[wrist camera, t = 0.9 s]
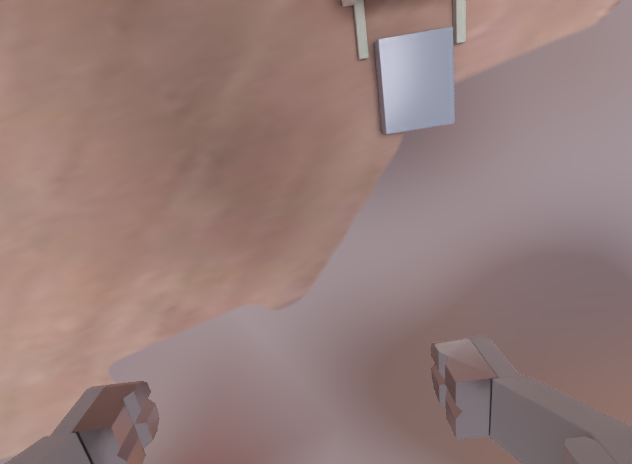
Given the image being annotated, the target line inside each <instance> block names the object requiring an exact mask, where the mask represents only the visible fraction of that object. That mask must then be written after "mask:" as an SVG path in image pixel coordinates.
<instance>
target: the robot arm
mask: <svg viewBox="0 0 632 464" xmlns="http://www.w3.org/2000/svg"><path fill="white" fill-rule="evenodd" d="M431 357H432V359H433V361H434V365H433V366H432V368H431V374H432V382H433V387H434V390H435V393H436V396H437V399H438V401H439V403H440V404H441V405H442V406H444V407H445V408H446V419H447V421H448V423H449V425H450V427H451V429H452V432H453V434H454V436H455V438H456V440H457V439H466V438H477V437H487V436H490V438H491V439H492V440H493V441H494V442H496V443H497V444H498V445H499V446H500V447H502V448H503V449H504V450H505V451H507V452H508V453H509V454H510V455H511V456H513V457H514V458H515V459H516V460H518V461H519V462H520V463H521V464H632V426H630V425H628V424H626V423H624V422H621V421H620V420H618V419H616V418H614V417H612V416H609V415H607V414H605V413H603V412H601V411H599V410H597V409H595V408H593V407H591V406H589V405H587V404H585V403H583V402H581V401H579V400H576V399H575V398H572V397H570V396H568V395H566V394H564V393H562V392H560V391H558V390H556V389H554V388H552V387H550V386H548V385H546V384H544V383H541V382H539V381H538V380H535V379H533V378H531V377H529V376H527V375H519V374H518V373H517V371H516V370H515V369H514V367H513V366H512V365H511V364H510V363H509V361H508V360H507V359H506V358H505V357H504V355H503V354H502V353H501V352H500V351H499V349H498V348H497V347H496V345H495V344H494V343H493V342H492V340H491V339H490V338H489V337H488V336H486V335H481V336H475V337H468V338H465V339H458V340H451V341H443V342H436V343H432V344H431ZM150 393H151V390H150V388H149V386H148V383H147V382H144V381H138V382H128V383H120V384H110V385H103V386H94V387H91V388H89V389H87V390H86V391H85V392H84V394H83V395H82V396H81V397H80V399H79V400H78V401H77V402H76V404H75V405H74V406H73V407H72V409H71V410H70V411H69V413H68V414H67V415H66V416H65V418H64V419H63V420H62V421H61V423H60V424H59V425H58V426H57V428H56V429H55V430H54V432H53V433H52V434H51V435H50V436H46V437H43V438H42V439H40V440H39V441H37V442H36V443H34V444H33V445H31V446H30V447H29V448H27V449H26V450H24V451H23V452H21V453H20V454H18V455H17V456H15V457H14V458H12V459H11V460H10V461H8V462H7V463H5V464H142V463H143V461H144V459H145V456H146V454H145V451H144V448H145V447H146V446H147V445H149V444H150V443H151V442H152V441H153V439H154V437H155V435H156V432H157V428H158V423H159V415H158V409H157V406H156V404H155V403H154V402H152V401H151V400H149V399H148V397H149V395H150Z"/></svg>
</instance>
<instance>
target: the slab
mask: <svg viewBox="0 0 632 464" xmlns="http://www.w3.org/2000/svg"><path fill="white" fill-rule="evenodd" d="M374 47H375V59H376V70H377V81H378V93H379V104H380V115H381V127H382V133H384V134H392V133H398V132H404V131H410V130H416V129H422V128H428V127H435V126H441V125H446V124H453V123H454V122H455V119H454V118H455V117H454V116H455V114H454V59H453V27H447V28H441V29H436V30H430V31H424V32H418V33H412V34H406V35H401V36H395V37H389V38H383V39H378V40H377V41H376V42H375V43H374Z"/></svg>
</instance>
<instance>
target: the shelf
mask: <svg viewBox="0 0 632 464" xmlns="http://www.w3.org/2000/svg"><path fill="white" fill-rule="evenodd" d="M352 5H353V9H354V19H355V29H356V40H357V50H358V60H362V59H367V58H369V57H368V46H367V34H366V23H365V12H364V1H363V0H342V7H346V6H352ZM464 42H466V0H453V44H459V43H464Z"/></svg>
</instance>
